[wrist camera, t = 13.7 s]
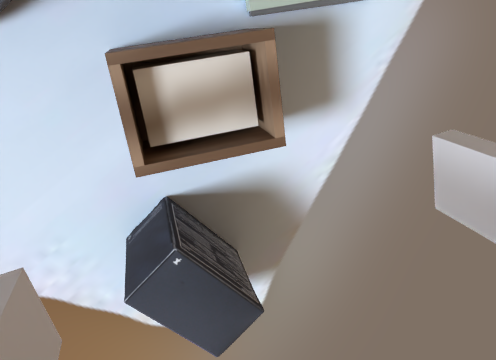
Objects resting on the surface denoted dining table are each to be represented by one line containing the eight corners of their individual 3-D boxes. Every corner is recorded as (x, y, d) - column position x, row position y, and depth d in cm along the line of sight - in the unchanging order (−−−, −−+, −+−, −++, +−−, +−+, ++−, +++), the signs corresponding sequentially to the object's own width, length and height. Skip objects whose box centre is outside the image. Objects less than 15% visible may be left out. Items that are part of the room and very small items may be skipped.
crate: (110, 49, 34) (104, 53, 27) (246, 29, 37) (274, 28, 29) (135, 149, 38) (136, 177, 30) (258, 125, 40) (286, 145, 33)
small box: (121, 240, 40) (118, 305, 31) (165, 193, 40) (175, 244, 30) (198, 292, 45) (216, 363, 35) (239, 250, 44) (268, 310, 35)
